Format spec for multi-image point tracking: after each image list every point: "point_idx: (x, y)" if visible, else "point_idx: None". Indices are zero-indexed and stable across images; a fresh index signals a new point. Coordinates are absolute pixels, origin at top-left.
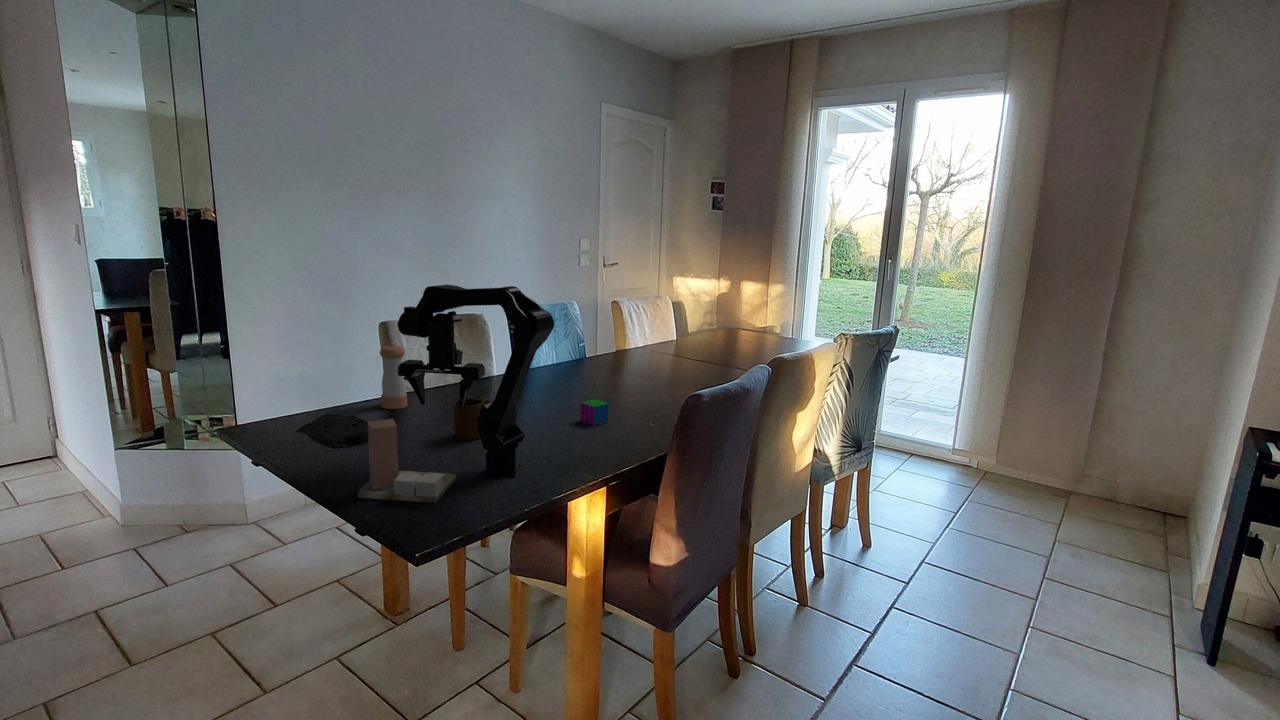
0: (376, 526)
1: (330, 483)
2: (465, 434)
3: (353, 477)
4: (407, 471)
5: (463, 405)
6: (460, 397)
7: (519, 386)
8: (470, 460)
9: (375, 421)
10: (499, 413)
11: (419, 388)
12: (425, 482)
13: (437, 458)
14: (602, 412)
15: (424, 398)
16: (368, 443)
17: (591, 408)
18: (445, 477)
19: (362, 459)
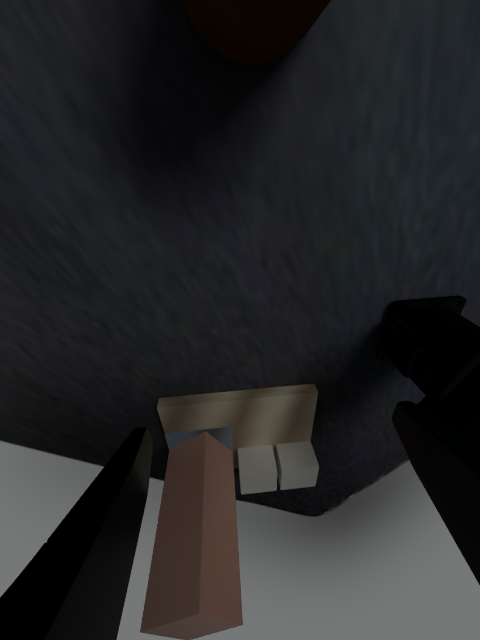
0: (252, 499)
1: (90, 442)
2: (263, 59)
3: (108, 418)
4: (211, 404)
5: (411, 406)
6: (441, 507)
7: None
8: (324, 281)
9: (162, 628)
10: None
11: (112, 633)
12: (297, 487)
13: (226, 288)
14: None
15: (139, 469)
16: (155, 544)
17: None
18: (301, 408)
19: (32, 340)
